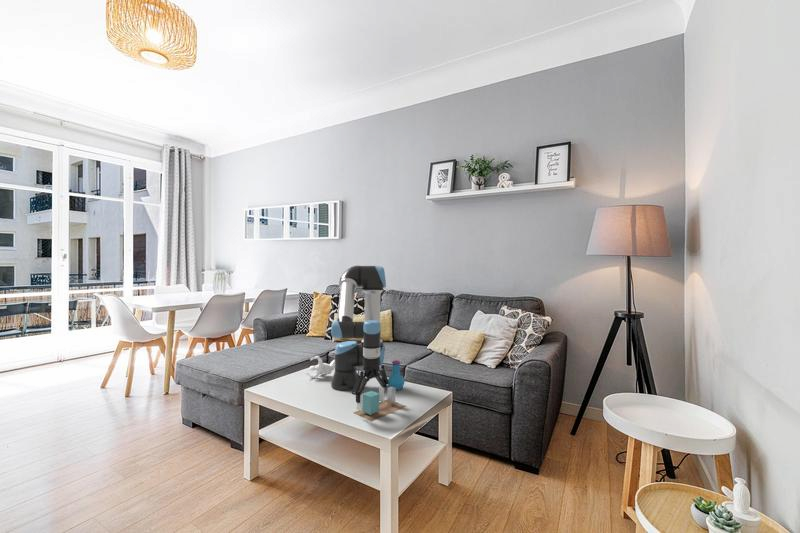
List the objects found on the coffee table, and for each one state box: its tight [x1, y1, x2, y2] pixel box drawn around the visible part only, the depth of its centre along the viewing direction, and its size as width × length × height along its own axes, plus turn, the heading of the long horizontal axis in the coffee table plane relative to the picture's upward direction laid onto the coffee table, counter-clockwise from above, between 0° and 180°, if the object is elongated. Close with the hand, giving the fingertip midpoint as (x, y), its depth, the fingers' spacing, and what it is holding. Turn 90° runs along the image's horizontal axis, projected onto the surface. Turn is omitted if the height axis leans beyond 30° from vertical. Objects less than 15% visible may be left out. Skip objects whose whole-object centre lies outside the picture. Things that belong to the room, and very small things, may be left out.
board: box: [353, 399, 407, 422], centre depth 163 cm, size 12×22×1 cm, turn 138°
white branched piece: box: [305, 355, 335, 379], centre depth 210 cm, size 13×13×18 cm
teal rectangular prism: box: [362, 390, 380, 415], centre depth 159 cm, size 5×5×8 cm
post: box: [386, 386, 397, 407], centre depth 168 cm, size 3×3×8 cm
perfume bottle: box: [387, 359, 406, 391], centre depth 191 cm, size 9×9×15 cm
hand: (370, 405), depth 159 cm, fingers open, 12 cm apart
